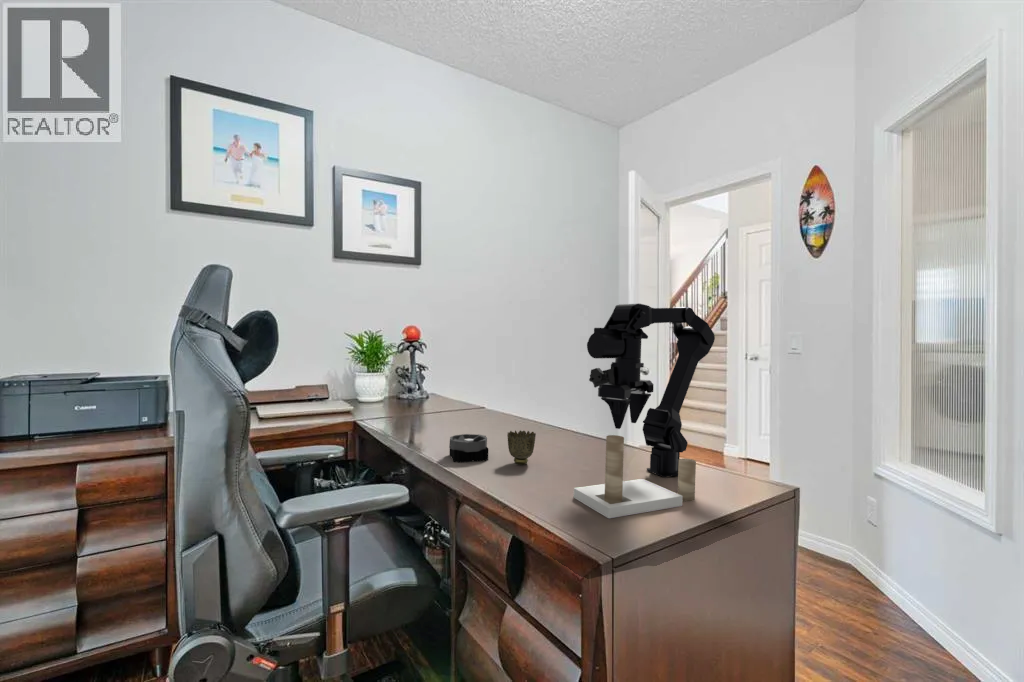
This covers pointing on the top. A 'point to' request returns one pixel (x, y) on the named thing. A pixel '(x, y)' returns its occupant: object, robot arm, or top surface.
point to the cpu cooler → (468, 448)
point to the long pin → (614, 469)
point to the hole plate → (629, 498)
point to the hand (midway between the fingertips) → (626, 425)
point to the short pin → (686, 479)
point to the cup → (521, 445)
